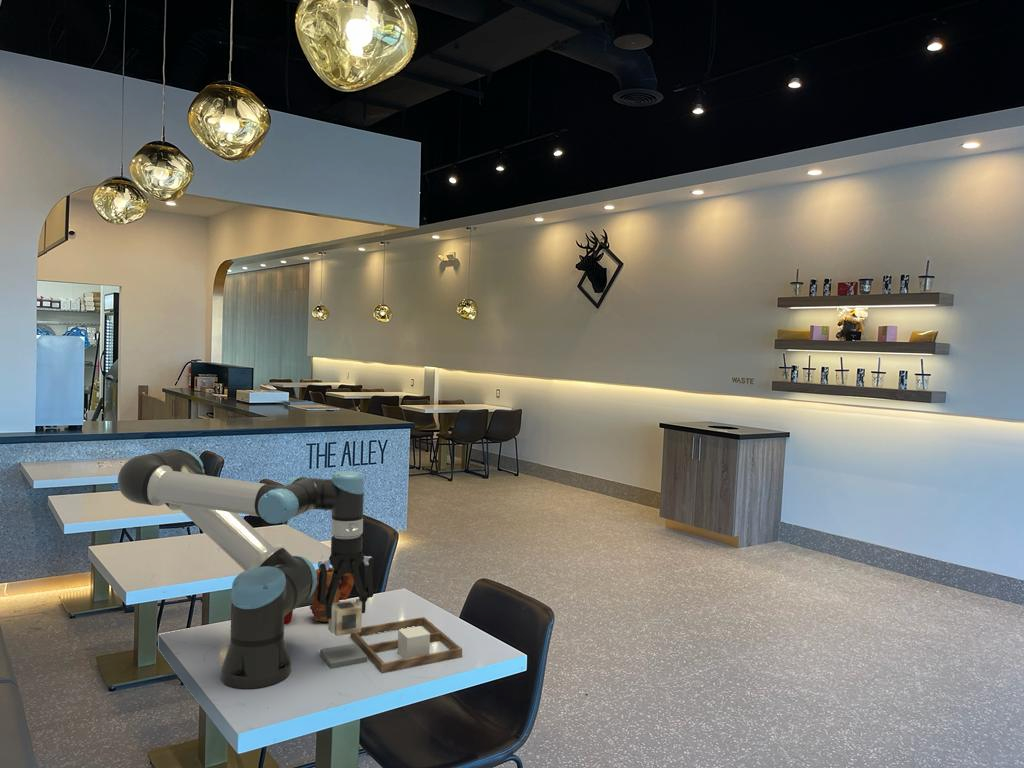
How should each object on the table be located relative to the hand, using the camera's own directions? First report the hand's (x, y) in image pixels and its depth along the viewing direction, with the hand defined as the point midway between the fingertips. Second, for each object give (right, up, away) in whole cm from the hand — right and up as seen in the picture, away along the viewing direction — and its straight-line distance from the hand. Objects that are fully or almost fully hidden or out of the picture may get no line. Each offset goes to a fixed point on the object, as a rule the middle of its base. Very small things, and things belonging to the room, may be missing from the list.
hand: (344, 628), depth 175 cm
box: (+13, -7, +8) cm, 18 cm away
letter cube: (0, 0, 0) cm, 0 cm away
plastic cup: (-23, -6, +22) cm, 32 cm away
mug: (-10, -6, +27) cm, 30 cm away
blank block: (+16, -8, +3) cm, 19 cm away
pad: (0, -7, 0) cm, 7 cm away
